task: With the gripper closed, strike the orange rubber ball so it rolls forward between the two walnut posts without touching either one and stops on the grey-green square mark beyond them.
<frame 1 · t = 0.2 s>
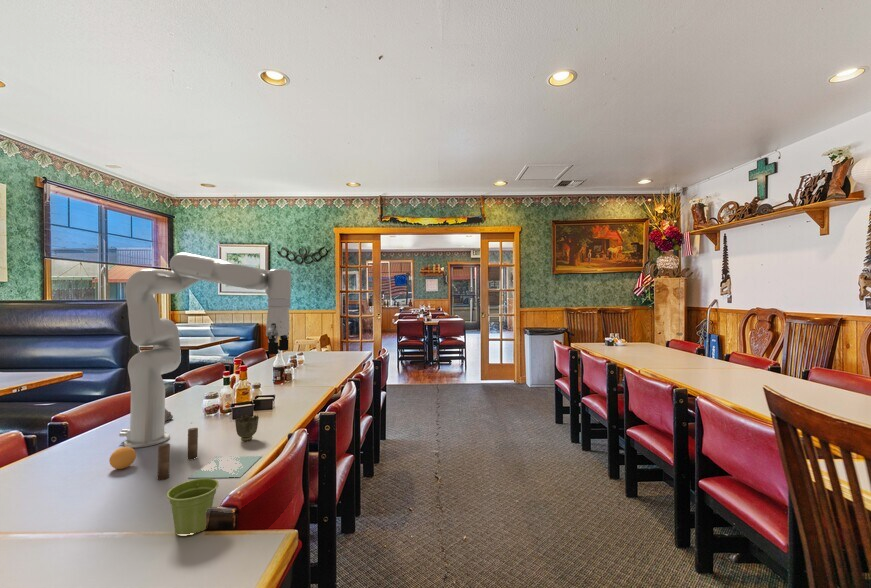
hand: (278, 352, 132), 31 cm above the table, tool pointing down, fingers open, 9 cm apart
post 2: (192, 458, 116), on the table
mineral specimen: (156, 422, 151), on the table
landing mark: (227, 466, 110), on the table
post 1: (163, 478, 103), on the table
ball: (123, 457, 109), on the table
plant pot: (192, 529, 80), on the table
cup: (246, 441, 131), on the table
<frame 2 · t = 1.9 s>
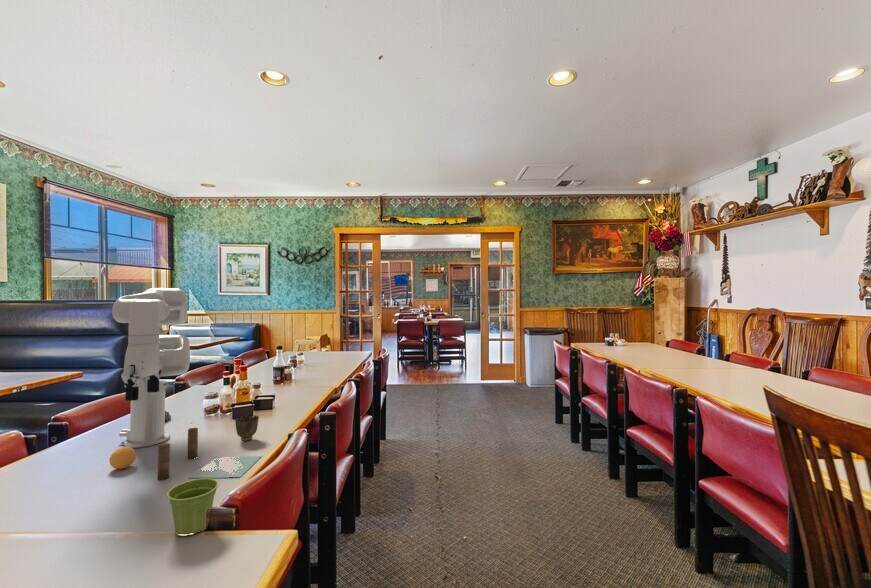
hand: (142, 395, 114), 20 cm above the table, tool pointing down, fingers open, 9 cm apart
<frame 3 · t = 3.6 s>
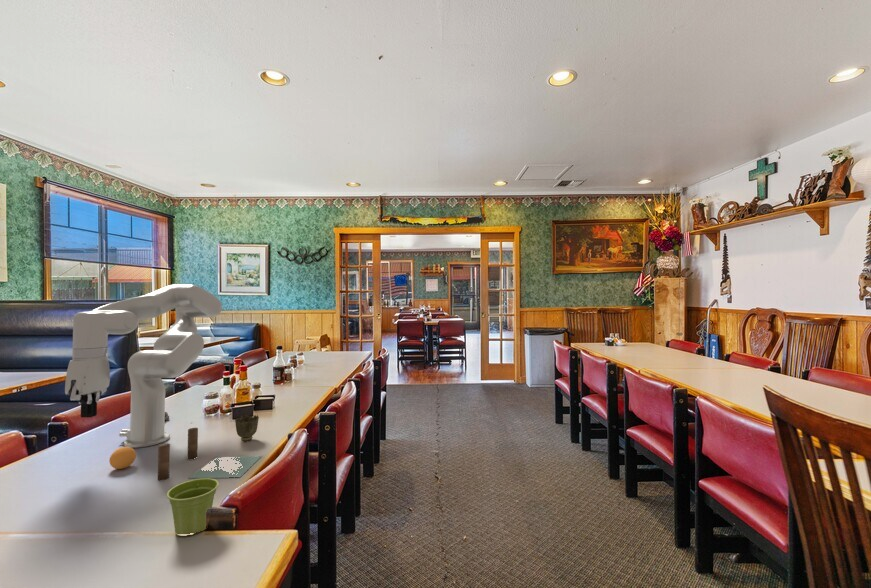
hand: (88, 416, 109), 15 cm above the table, tool pointing down, fingers closed
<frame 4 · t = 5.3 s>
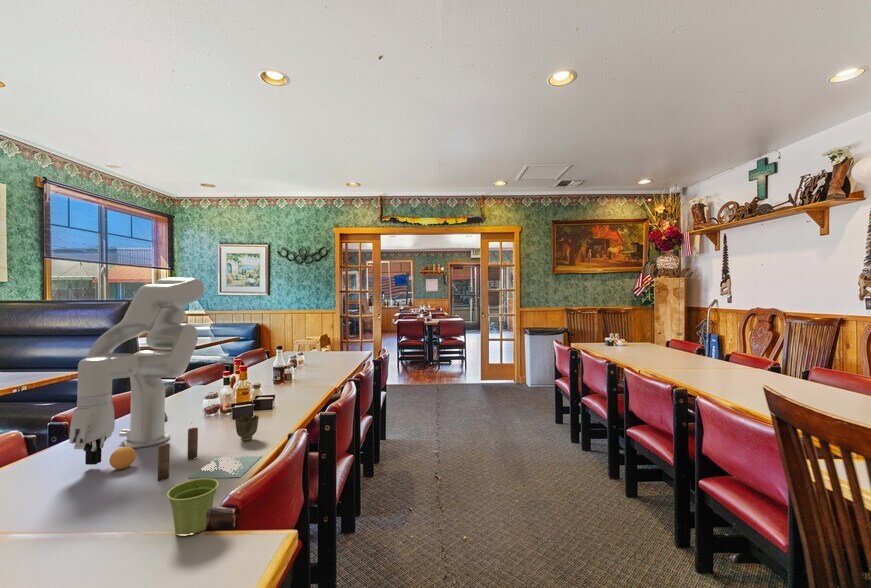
hand: (93, 463, 109), 2 cm above the table, tool pointing down, fingers closed
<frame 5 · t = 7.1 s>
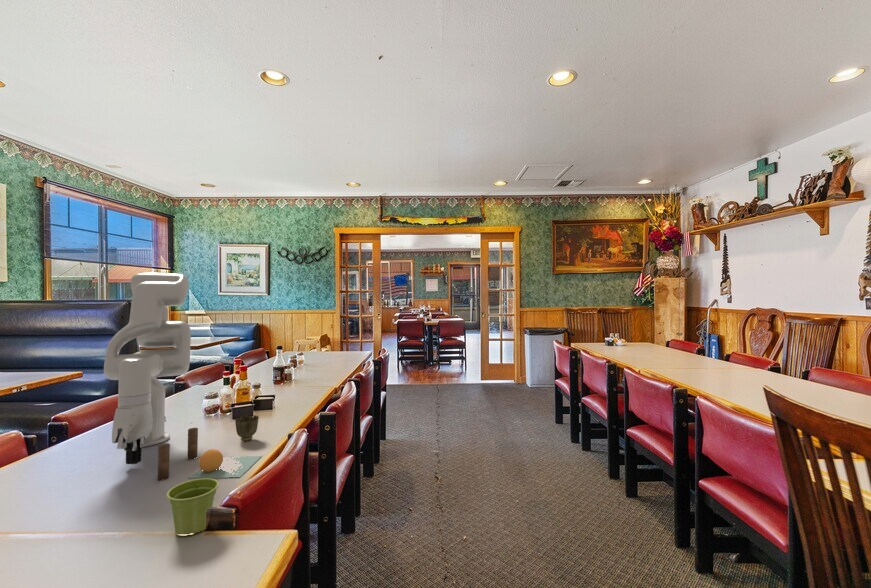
hand: (133, 462, 109), 2 cm above the table, tool pointing down, fingers closed
ball: (211, 460, 107), on the table
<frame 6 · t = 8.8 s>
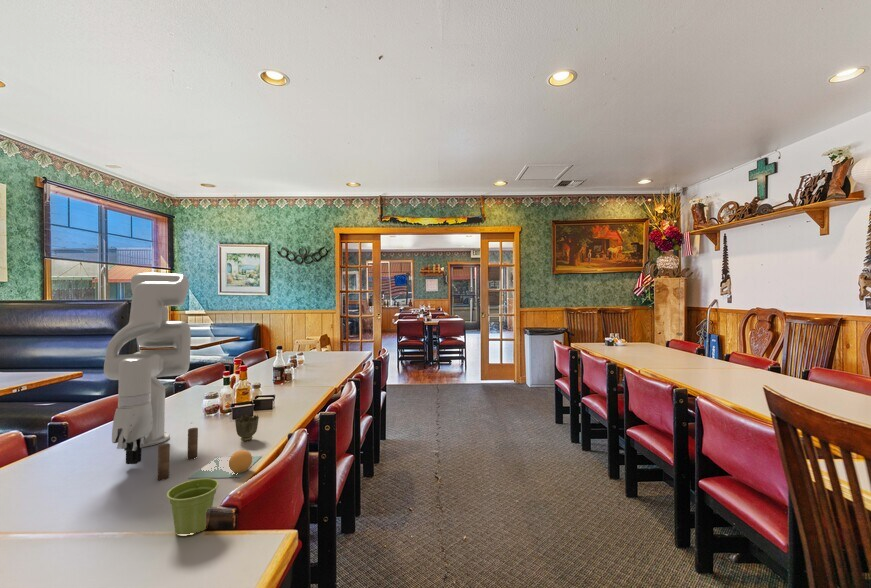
hand: (133, 462, 109), 2 cm above the table, tool pointing down, fingers closed
ball: (240, 461, 107), on the table
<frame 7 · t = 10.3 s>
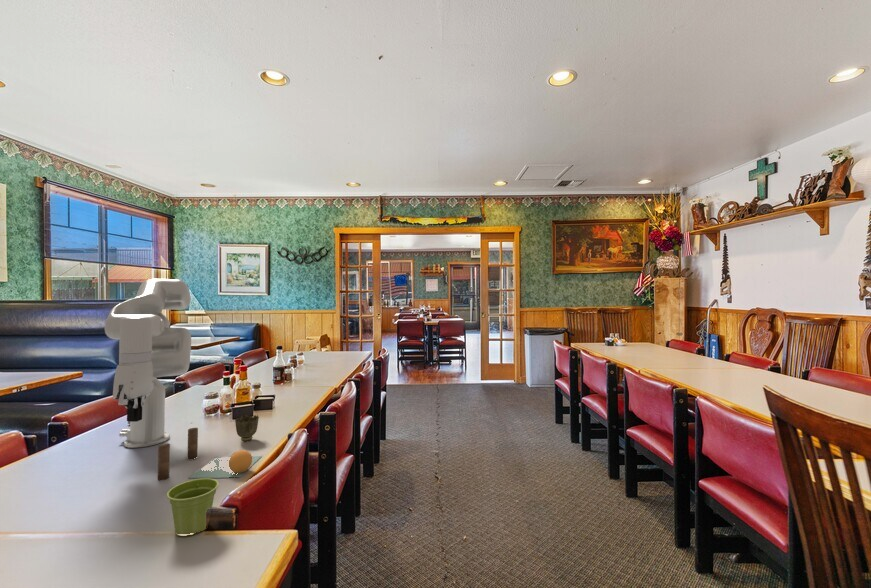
hand: (134, 420, 109), 14 cm above the table, tool pointing down, fingers closed
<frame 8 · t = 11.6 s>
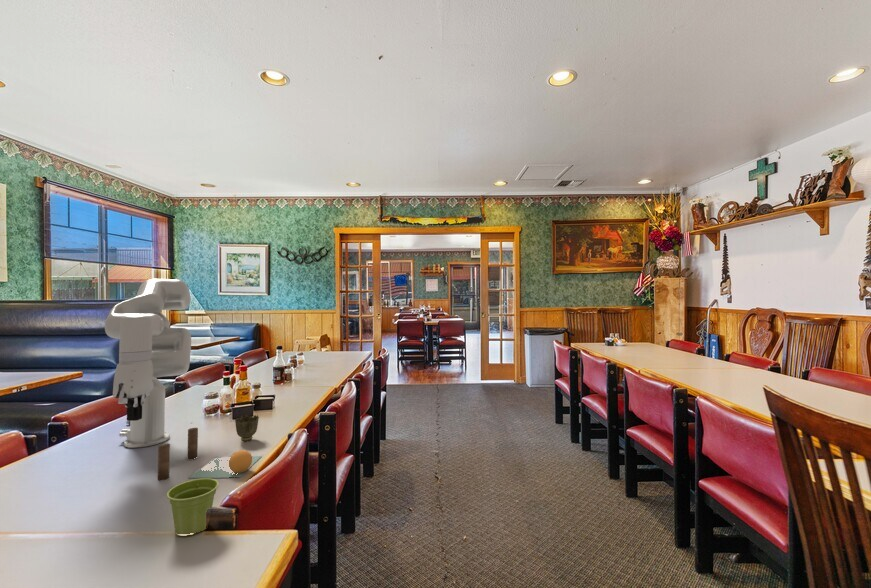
hand: (134, 419, 109), 14 cm above the table, tool pointing down, fingers closed
at the end: ball 6.4 cm from the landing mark (horizontally); ball never touched post 2; ball never touched post 1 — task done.
